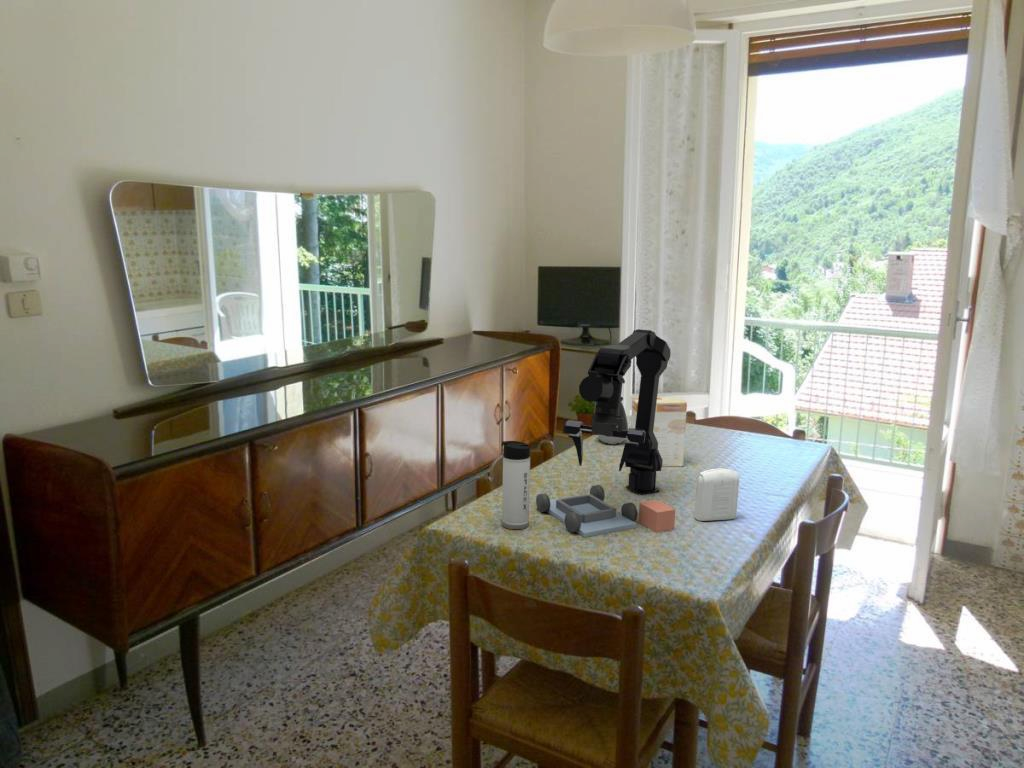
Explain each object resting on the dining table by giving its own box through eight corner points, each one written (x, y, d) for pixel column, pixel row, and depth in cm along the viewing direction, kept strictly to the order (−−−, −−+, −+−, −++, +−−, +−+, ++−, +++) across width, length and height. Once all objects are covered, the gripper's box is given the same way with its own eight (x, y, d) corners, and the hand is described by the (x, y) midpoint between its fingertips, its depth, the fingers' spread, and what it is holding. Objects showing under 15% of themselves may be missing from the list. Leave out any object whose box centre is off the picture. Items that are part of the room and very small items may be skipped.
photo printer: (730, 513, 186) (733, 465, 184) (739, 520, 182) (742, 470, 179) (691, 516, 184) (694, 467, 181) (699, 523, 180) (702, 473, 177)
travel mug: (499, 520, 179) (500, 438, 176) (527, 519, 180) (529, 438, 176) (501, 530, 173) (502, 446, 169) (530, 529, 174) (531, 445, 170)
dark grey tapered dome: (633, 442, 248) (635, 396, 245) (616, 448, 241) (617, 401, 238) (607, 436, 255) (609, 392, 252) (589, 442, 247) (591, 396, 244)
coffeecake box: (678, 460, 230) (681, 397, 226) (684, 467, 223) (687, 402, 219) (628, 459, 229) (631, 396, 225) (633, 466, 222) (636, 401, 218)
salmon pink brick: (655, 519, 182) (656, 499, 181) (674, 529, 176) (675, 509, 175) (638, 522, 180) (639, 502, 179) (656, 533, 173) (657, 512, 172)
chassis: (591, 496, 196) (591, 480, 195) (641, 526, 177) (642, 508, 176) (532, 506, 189) (532, 489, 188) (578, 538, 169) (579, 519, 169)
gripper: (563, 398, 170) (555, 467, 171) (647, 408, 166) (639, 478, 167) (569, 396, 181) (562, 461, 182) (648, 406, 177) (640, 472, 178)
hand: (600, 468), depth 177 cm, fingers open, 9 cm apart
